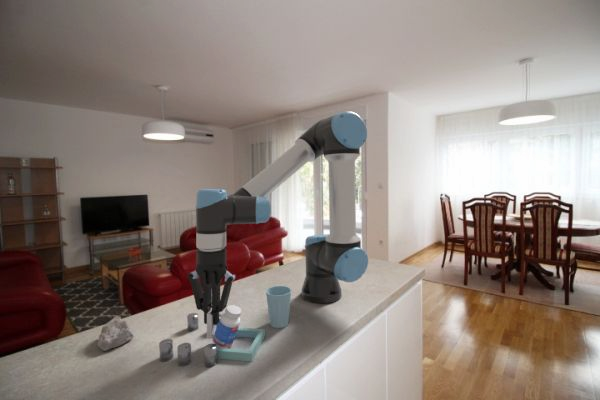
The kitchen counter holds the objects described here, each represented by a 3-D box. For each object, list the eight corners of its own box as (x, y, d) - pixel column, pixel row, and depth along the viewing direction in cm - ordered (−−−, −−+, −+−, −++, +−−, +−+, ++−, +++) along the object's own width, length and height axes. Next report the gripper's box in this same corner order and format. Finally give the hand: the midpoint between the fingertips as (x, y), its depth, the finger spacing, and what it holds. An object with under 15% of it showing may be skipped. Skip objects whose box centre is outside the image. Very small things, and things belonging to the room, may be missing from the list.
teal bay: (264, 336, 78) (264, 329, 78) (251, 361, 67) (251, 353, 67) (233, 333, 80) (233, 327, 80) (216, 358, 69) (215, 350, 69)
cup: (291, 316, 90) (290, 285, 89) (292, 329, 82) (291, 294, 81) (267, 318, 89) (266, 286, 88) (266, 331, 81) (265, 296, 81)
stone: (98, 356, 71) (96, 333, 71) (96, 340, 79) (94, 319, 78) (135, 344, 76) (133, 322, 76) (129, 330, 84) (128, 310, 83)
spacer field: (241, 328, 83) (241, 315, 83) (212, 369, 65) (212, 352, 65) (192, 324, 86) (191, 311, 85) (150, 363, 67) (149, 347, 67)
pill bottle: (226, 352, 71) (239, 318, 70) (208, 343, 72) (220, 310, 71) (235, 340, 77) (246, 309, 75) (218, 332, 77) (229, 300, 76)
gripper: (240, 246, 76) (239, 330, 77) (196, 243, 78) (196, 325, 79) (228, 252, 68) (228, 346, 70) (180, 249, 71) (181, 340, 72)
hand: (211, 335), depth 75 cm, fingers closed
